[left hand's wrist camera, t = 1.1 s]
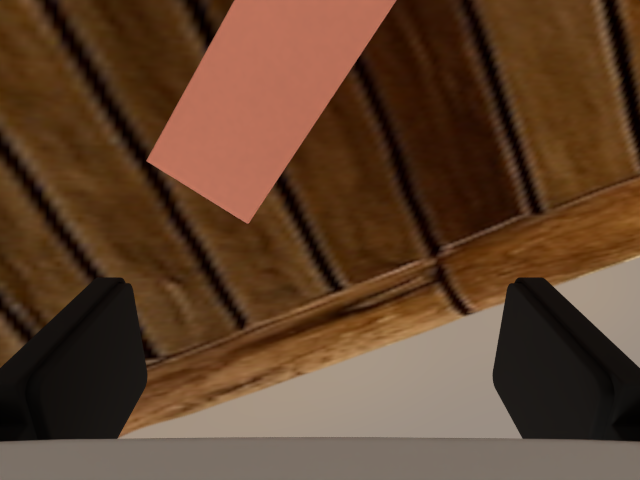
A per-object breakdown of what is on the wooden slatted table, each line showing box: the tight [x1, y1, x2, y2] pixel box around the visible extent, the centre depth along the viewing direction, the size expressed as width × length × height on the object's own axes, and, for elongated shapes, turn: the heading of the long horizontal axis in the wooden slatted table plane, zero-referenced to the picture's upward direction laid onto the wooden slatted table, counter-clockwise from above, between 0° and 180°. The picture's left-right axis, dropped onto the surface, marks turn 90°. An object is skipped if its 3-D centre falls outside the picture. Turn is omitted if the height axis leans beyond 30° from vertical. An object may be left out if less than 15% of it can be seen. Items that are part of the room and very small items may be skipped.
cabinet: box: [147, 0, 396, 224], centre depth 26 cm, size 20×6×9 cm, turn 146°
